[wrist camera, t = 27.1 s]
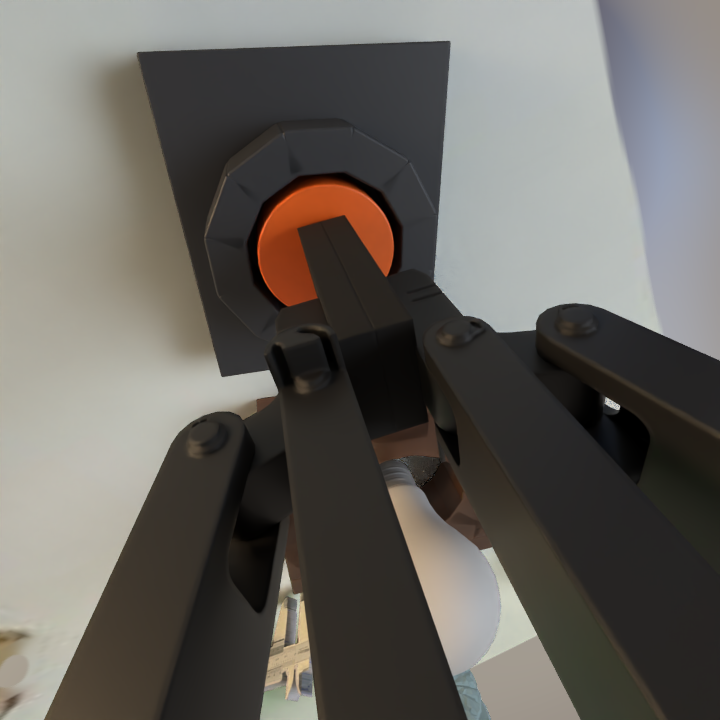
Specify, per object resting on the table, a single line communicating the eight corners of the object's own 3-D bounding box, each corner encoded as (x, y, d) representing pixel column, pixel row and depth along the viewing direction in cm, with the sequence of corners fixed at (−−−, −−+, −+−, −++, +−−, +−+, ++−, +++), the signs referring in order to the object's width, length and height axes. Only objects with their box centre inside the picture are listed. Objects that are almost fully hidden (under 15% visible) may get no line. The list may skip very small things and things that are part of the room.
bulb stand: (243, 392, 21) (244, 435, 19) (512, 349, 24) (543, 382, 21) (282, 556, 29) (285, 601, 27) (479, 512, 32) (499, 550, 29)
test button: (245, 177, 14) (246, 190, 13) (380, 165, 15) (395, 178, 13) (266, 302, 16) (269, 325, 15) (380, 287, 17) (393, 308, 16)
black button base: (147, 52, 14) (119, 52, 10) (428, 41, 15) (480, 39, 12) (222, 351, 20) (219, 409, 17) (414, 323, 21) (446, 371, 18)
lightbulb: (334, 434, 24) (390, 652, 15) (439, 421, 25) (546, 616, 17) (333, 505, 28) (377, 718, 19) (425, 491, 29) (508, 684, 20)
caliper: (311, 586, 31) (310, 692, 27) (321, 589, 32) (321, 694, 27) (137, 657, 39) (113, 748, 34) (147, 659, 39) (125, 749, 35)
